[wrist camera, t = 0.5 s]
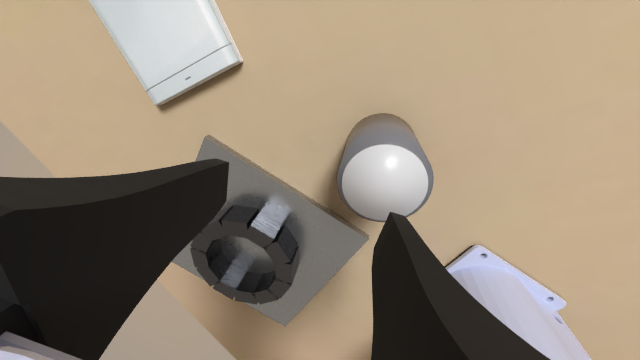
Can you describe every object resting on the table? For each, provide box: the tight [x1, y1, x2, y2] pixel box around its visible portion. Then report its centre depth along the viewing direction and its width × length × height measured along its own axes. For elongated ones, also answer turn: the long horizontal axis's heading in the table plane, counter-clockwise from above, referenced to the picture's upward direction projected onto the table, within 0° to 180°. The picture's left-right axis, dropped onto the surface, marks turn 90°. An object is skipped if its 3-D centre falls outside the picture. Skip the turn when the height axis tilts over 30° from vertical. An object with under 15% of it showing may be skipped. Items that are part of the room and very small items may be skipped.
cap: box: [337, 113, 433, 222], centre depth 16 cm, size 5×5×6 cm
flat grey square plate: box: [172, 135, 369, 326], centre depth 24 cm, size 16×16×3 cm
